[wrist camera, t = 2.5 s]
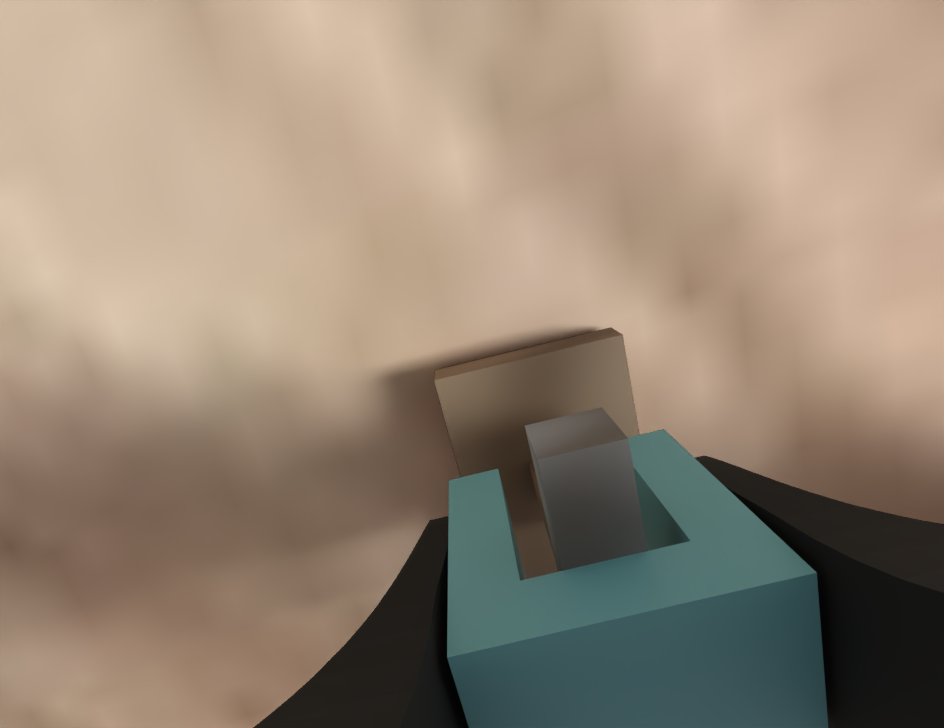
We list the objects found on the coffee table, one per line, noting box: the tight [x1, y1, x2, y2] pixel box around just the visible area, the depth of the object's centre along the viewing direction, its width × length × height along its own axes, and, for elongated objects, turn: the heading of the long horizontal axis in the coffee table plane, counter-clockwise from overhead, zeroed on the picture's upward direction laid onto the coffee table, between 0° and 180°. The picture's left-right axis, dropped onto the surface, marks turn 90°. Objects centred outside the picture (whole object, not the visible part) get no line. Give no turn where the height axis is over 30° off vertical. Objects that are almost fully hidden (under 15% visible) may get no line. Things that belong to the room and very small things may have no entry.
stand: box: [434, 328, 648, 579], centre depth 12 cm, size 5×7×7 cm
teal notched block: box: [447, 429, 828, 728], centre depth 10 cm, size 5×3×5 cm, turn 104°
